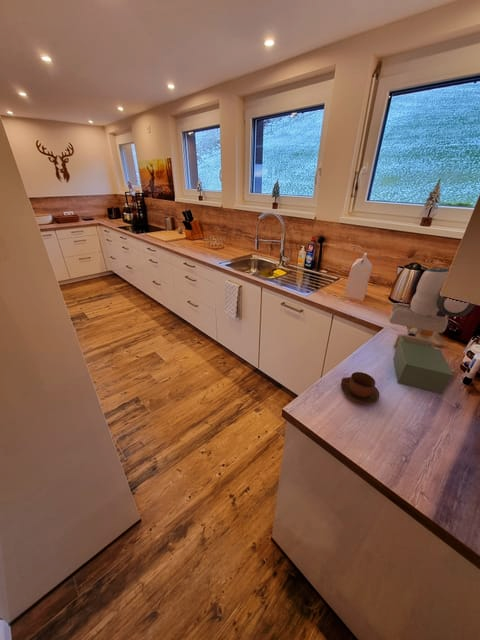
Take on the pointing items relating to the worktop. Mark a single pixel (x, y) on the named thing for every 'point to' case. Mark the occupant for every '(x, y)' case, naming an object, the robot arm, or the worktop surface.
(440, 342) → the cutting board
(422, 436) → the worktop surface
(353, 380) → the cup and saucer
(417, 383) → the green box
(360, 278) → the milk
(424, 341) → the drawer
